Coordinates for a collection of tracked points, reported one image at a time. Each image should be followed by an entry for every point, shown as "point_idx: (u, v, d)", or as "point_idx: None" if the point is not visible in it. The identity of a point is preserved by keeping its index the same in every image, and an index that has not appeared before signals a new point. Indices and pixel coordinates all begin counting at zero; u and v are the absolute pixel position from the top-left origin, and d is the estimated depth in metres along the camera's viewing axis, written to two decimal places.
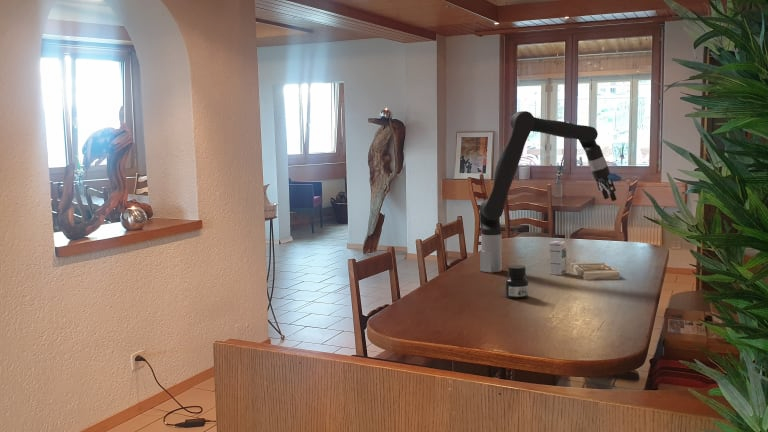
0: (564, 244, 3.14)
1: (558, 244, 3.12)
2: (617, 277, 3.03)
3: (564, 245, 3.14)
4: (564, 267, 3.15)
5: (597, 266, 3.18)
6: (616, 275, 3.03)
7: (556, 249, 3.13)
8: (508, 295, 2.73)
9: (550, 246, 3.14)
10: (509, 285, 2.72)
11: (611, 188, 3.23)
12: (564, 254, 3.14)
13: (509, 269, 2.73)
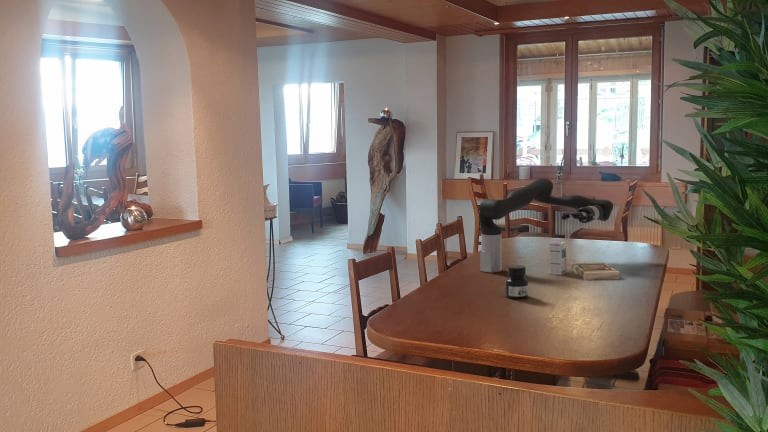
0: (564, 244, 3.14)
1: (558, 244, 3.12)
2: (617, 277, 3.03)
3: (564, 245, 3.14)
4: (564, 266, 3.15)
5: (597, 266, 3.18)
6: (616, 275, 3.03)
7: (556, 249, 3.13)
8: (508, 295, 2.73)
9: (550, 246, 3.14)
10: (509, 285, 2.72)
11: (569, 214, 3.29)
12: (564, 254, 3.14)
13: (509, 269, 2.73)
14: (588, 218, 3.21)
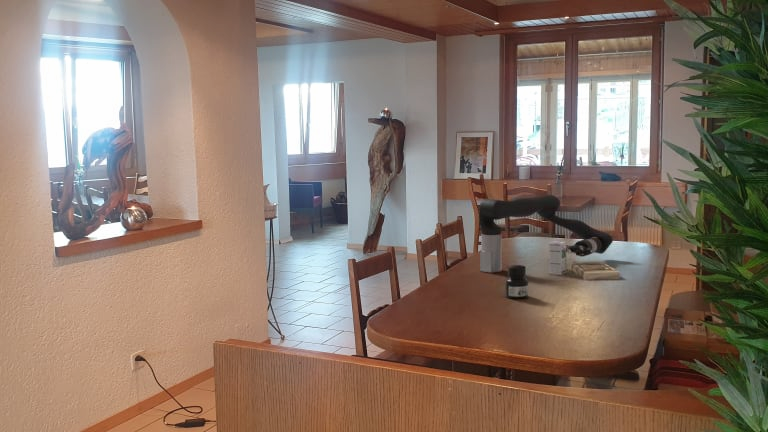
0: (564, 244, 3.14)
1: (558, 244, 3.12)
2: (617, 277, 3.03)
3: (564, 245, 3.14)
4: (564, 266, 3.15)
5: (597, 266, 3.18)
6: (616, 275, 3.03)
7: (556, 249, 3.13)
8: (508, 295, 2.73)
9: (550, 246, 3.14)
10: (509, 285, 2.72)
11: (566, 248, 3.28)
12: (564, 254, 3.14)
13: (509, 269, 2.73)
14: (585, 252, 3.20)
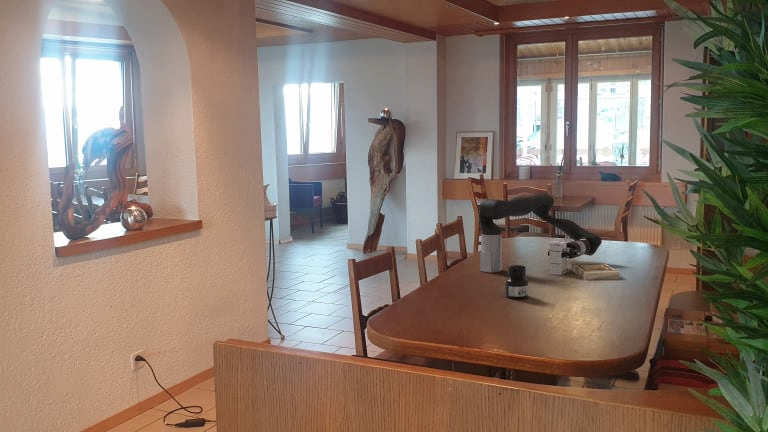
0: (564, 244, 3.14)
1: (558, 244, 3.12)
2: (617, 277, 3.03)
3: (564, 245, 3.14)
4: (564, 266, 3.15)
5: (597, 266, 3.18)
6: (616, 275, 3.03)
7: (556, 249, 3.13)
8: (508, 295, 2.73)
9: (550, 246, 3.14)
10: (509, 285, 2.72)
11: None
12: None
13: (509, 269, 2.73)
14: (570, 254, 3.13)
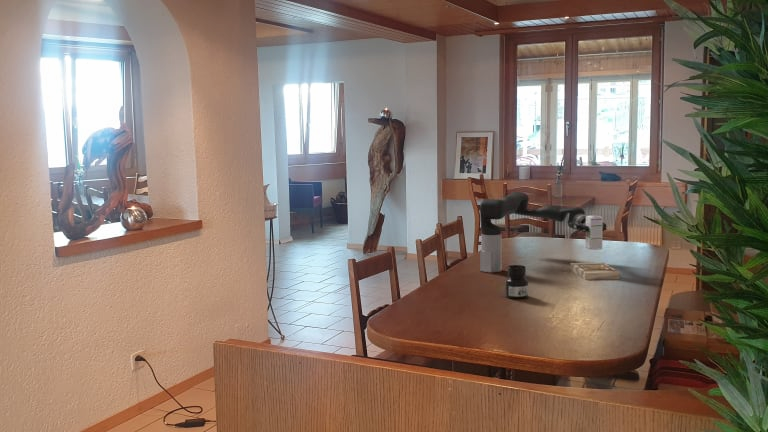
0: None
1: (599, 218, 3.07)
2: (617, 277, 3.03)
3: None
4: None
5: (597, 266, 3.18)
6: (616, 275, 3.03)
7: (597, 223, 3.08)
8: (508, 295, 2.73)
9: (591, 222, 3.07)
10: (509, 285, 2.72)
11: None
12: None
13: (509, 269, 2.73)
14: (604, 227, 3.13)
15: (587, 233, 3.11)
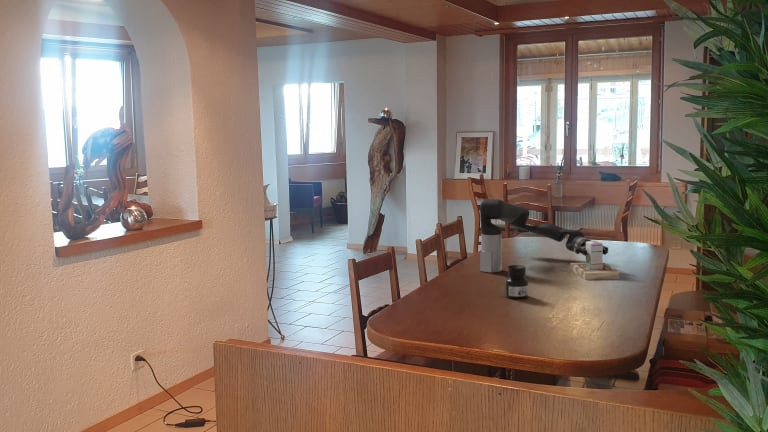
0: None
1: (600, 244, 3.10)
2: (617, 277, 3.03)
3: None
4: None
5: None
6: (616, 275, 3.03)
7: (598, 249, 3.10)
8: (508, 295, 2.73)
9: (591, 247, 3.09)
10: (509, 285, 2.72)
11: None
12: None
13: (509, 269, 2.73)
14: (606, 250, 3.15)
15: (587, 259, 3.13)
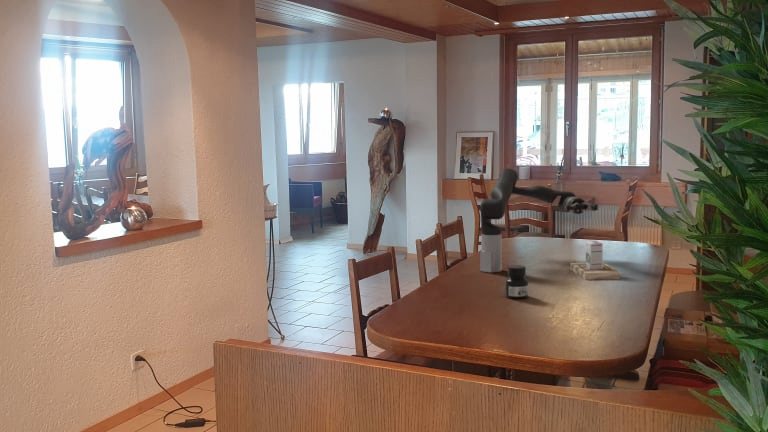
0: None
1: (600, 244, 3.10)
2: (617, 277, 3.03)
3: None
4: None
5: None
6: (616, 275, 3.03)
7: (598, 249, 3.10)
8: (508, 295, 2.73)
9: (591, 247, 3.09)
10: (509, 285, 2.72)
11: (573, 206, 3.27)
12: None
13: (509, 269, 2.73)
14: (596, 207, 3.26)
15: (587, 259, 3.13)
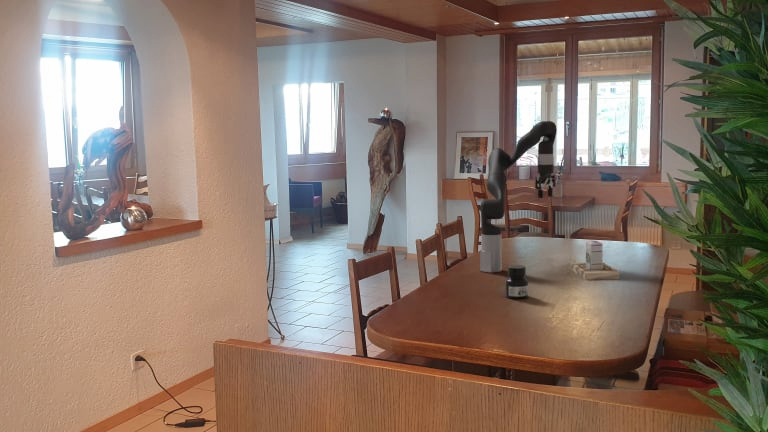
0: None
1: (600, 244, 3.10)
2: (617, 277, 3.03)
3: None
4: None
5: None
6: (616, 275, 3.03)
7: (598, 249, 3.10)
8: (508, 295, 2.73)
9: (591, 247, 3.09)
10: (509, 285, 2.72)
11: (548, 184, 3.39)
12: None
13: (509, 269, 2.73)
14: (538, 189, 3.31)
15: (587, 259, 3.13)
